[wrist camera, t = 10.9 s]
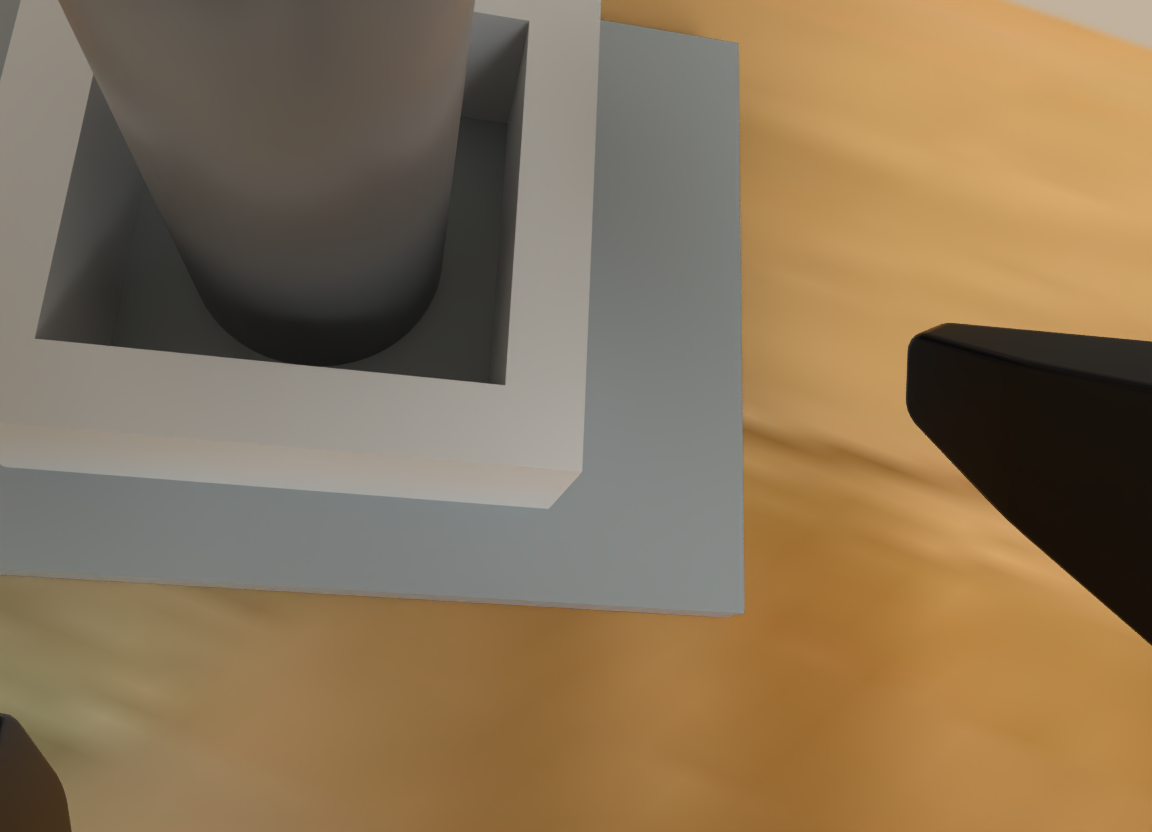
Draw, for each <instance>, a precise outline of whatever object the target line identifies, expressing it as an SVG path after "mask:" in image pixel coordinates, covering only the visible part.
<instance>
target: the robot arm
mask: <svg viewBox="0 0 1152 832" xmlns="http://www.w3.org/2000/svg"><path fill="white" fill-rule="evenodd" d="M906 405H907V409H908V412H909V414H910V416H911V418H912V420H913V421H914V423H915V424H916V425H917V426H918V427H919V428H920V429H921V430H922V431H923V433H924V434H925V435H926V436H927V437H928V438H929V439H930V440H931V441H932V442H933V443H934V444H935V445H936V446H937V447H938V448H939V449H940V450H941V451H942V453H943V454H944V455H945V456H946V457H947V458H948V459H949V460H950V461H951V462H952V463H953V464H954V465H955V466H956V467H957V468H958V469H959V470H960V472H961V473H962V474H963V475H964V476H965V477H966V478H967V479H968V480H969V481H970V482H971V483H972V484H973V485H974V486H975V487H976V488H977V489H978V491H979V492H980V493H981V494H982V495H983V496H984V497H985V498H986V499H987V500H988V501H989V502H990V503H991V504H992V505H993V506H994V507H995V508H996V509H997V510H998V511H999V512H1000V513H1001V514H1002V515H1003V516H1004V517H1005V518H1006V519H1007V520H1008V521H1009V522H1010V523H1011V524H1012V525H1013V526H1015V527H1016V528H1017V529H1018V530H1019V531H1020V532H1021V533H1022V534H1023V535H1025V536H1026V537H1027V538H1028V539H1029V540H1030V541H1031V542H1033V543H1034V544H1035V545H1036V546H1037V547H1038V548H1040V549H1041V550H1042V551H1043V552H1044V553H1045V554H1046V555H1048V556H1049V557H1050V558H1051V559H1052V560H1053V561H1055V562H1056V563H1057V564H1058V565H1059V566H1060V567H1061V568H1063V569H1064V570H1065V571H1066V572H1067V573H1068V574H1070V575H1071V576H1072V577H1073V578H1074V579H1075V580H1076V581H1078V582H1079V583H1080V584H1081V585H1082V586H1083V587H1085V588H1086V589H1087V590H1088V591H1089V592H1090V593H1091V594H1093V595H1094V596H1095V597H1096V598H1097V599H1098V600H1100V601H1101V602H1102V603H1103V604H1104V605H1105V606H1106V607H1108V608H1109V609H1110V610H1111V611H1112V612H1113V613H1115V614H1116V615H1117V616H1118V617H1119V618H1120V619H1121V620H1123V621H1124V622H1125V623H1126V624H1127V625H1128V626H1130V627H1131V628H1132V629H1133V630H1134V631H1135V632H1137V633H1138V634H1139V635H1140V636H1141V637H1142V638H1143V639H1145V640H1146V641H1147V642H1148V643H1149V644H1150V645H1152V342H1151V341H1140V340H1129V339H1119V338H1108V337H1097V336H1086V335H1076V334H1065V333H1054V332H1043V331H1032V330H1022V329H1011V328H1000V327H989V326H979V325H968V324H957V323H945V324H941V325H938V326H936V327H933V328H931V329H928V330H926V331H924V332H921V333H919V334H917V335H915V336H914V337H913V338H912V339H911V342H910V344H909V346H908V354H907V383H906ZM0 832H72V831H71V824H70V818H69V811H68V804H67V799H66V796H65V792H64V789H63V786H62V784H61V782H60V780H59V778H58V776H57V774H56V773H55V771H54V770H53V768H52V767H51V766H50V764H49V763H48V762H47V760H46V759H45V757H44V756H43V755H42V753H41V752H40V750H39V749H38V748H37V746H36V745H35V744H34V742H33V741H32V739H31V738H30V737H29V735H28V734H27V733H26V731H25V730H24V728H23V727H22V726H21V724H20V723H19V722H18V721H17V720H16V719H15V718H13V717H12V716H11V715H9V714H2V713H0Z"/></svg>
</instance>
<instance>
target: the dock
mask: <svg viewBox="0 0 1152 832" xmlns="http://www.w3.org/2000/svg"><path fill="white" fill-rule="evenodd" d="M600 15H601V0H475V5H474V13H473V21H472V29H471V37H470V45H469V53H468V61H467V69H466V77H465V85H464V93H463V101H462V109H461V117H460V125H459V133H458V141H457V149H456V157H455V165H454V173H453V180H452V188H451V196H450V204H449V212H448V220H447V228H446V236H445V244H444V252H443V260H442V268H441V274H440V279H439V283H438V286H437V289H436V292H435V295H434V297H433V299H432V301H431V303H430V305H429V307H428V309H427V310H426V312H425V313H424V315H423V316H422V318H421V319H420V321H419V322H418V323H417V324H416V325H415V326H414V327H413V328H412V329H411V330H410V331H409V332H408V333H407V334H406V335H405V336H403V337H402V338H401V339H400V340H399V341H397V342H396V343H394V344H393V345H391V346H390V347H388V348H386V349H385V350H383V351H381V352H379V353H377V354H375V355H372V356H370V357H368V358H365V359H362V360H359V361H355V362H352V363H347V364H341V365H335V366H321V367H318V366H306V365H296V364H290V363H285V362H281V361H278V360H275V359H271V358H269V357H266V356H264V355H262V354H259V353H257V352H255V351H253V350H251V349H250V348H248V347H246V346H245V345H243V344H241V343H240V342H238V341H237V340H236V339H235V338H233V337H232V336H231V335H230V334H228V333H227V332H226V331H225V330H224V329H223V328H222V327H221V326H220V325H219V324H218V323H217V322H216V321H215V319H214V318H213V317H212V315H211V314H210V312H209V311H208V310H207V308H206V307H205V305H204V303H203V301H202V299H201V297H200V295H199V293H198V291H197V289H196V287H195V285H194V283H193V281H192V279H191V277H190V275H189V272H188V270H187V268H186V266H185V264H184V262H183V260H182V258H181V256H180V254H179V252H178V250H177V247H176V245H175V243H174V241H173V239H172V237H171V235H170V233H169V231H168V229H167V227H166V224H165V222H164V220H163V218H162V216H161V214H160V212H159V210H158V208H157V206H156V204H155V201H154V199H153V197H152V195H151V193H150V191H149V189H148V187H147V185H146V183H145V181H144V179H143V176H142V174H141V172H140V170H139V168H138V166H137V164H136V162H135V160H134V158H133V156H132V153H131V151H130V149H129V147H128V145H127V143H126V141H125V139H124V137H123V135H122V133H121V131H120V128H119V126H118V124H117V122H116V120H115V118H114V116H113V114H112V112H111V110H110V108H109V105H108V103H107V101H106V99H105V97H104V95H103V93H102V91H101V89H100V87H99V85H98V82H97V80H96V78H95V76H94V74H93V72H92V70H91V68H90V66H89V64H88V62H87V60H86V57H85V55H84V53H83V51H82V49H81V47H80V45H79V43H78V41H77V39H76V37H75V34H74V32H73V30H72V28H71V26H70V24H69V22H68V20H67V18H66V16H65V14H64V12H63V9H62V7H61V5H60V3H59V1H58V0H0V575H15V576H32V577H49V578H65V579H82V580H99V581H116V582H133V583H150V584H167V585H184V586H201V587H218V588H235V589H252V590H269V591H286V592H303V593H320V594H337V595H354V596H370V597H387V598H404V599H421V600H438V601H455V602H472V603H489V604H506V605H523V606H540V607H557V608H574V609H591V610H608V611H625V612H642V613H658V614H675V615H692V616H709V617H730V616H735V615H739V614H744V523H743V429H742V335H741V241H740V147H739V53H738V43H736V42H730V41H724V40H718V39H712V38H706V37H700V36H694V35H688V34H682V33H677V32H671V31H665V30H659V29H653V28H647V27H641V26H635V25H629V24H623V23H618V22H612V21H606V20H600Z"/></svg>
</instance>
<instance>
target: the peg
mask: <svg viewBox="0 0 1152 832" xmlns="http://www.w3.org/2000/svg"><path fill="white" fill-rule="evenodd" d="M58 1H59V3H60V5H61V7H62V9H63V12H64V14H65V16H66V18H67V20H68V22H69V24H70V26H71V28H72V30H73V32H74V34H75V37H76V39H77V41H78V43H79V45H80V47H81V49H82V51H83V53H84V55H85V57H86V60H87V62H88V64H89V66H90V68H91V70H92V72H93V74H94V76H95V78H96V80H97V82H98V85H99V87H100V89H101V91H102V93H103V95H104V97H105V99H106V101H107V103H108V105H109V108H110V110H111V112H112V114H113V116H114V118H115V120H116V122H117V124H118V126H119V128H120V131H121V133H122V135H123V137H124V139H125V141H126V143H127V145H128V147H129V149H130V151H131V153H132V156H133V158H134V160H135V162H136V164H137V166H138V168H139V170H140V172H141V174H142V176H143V179H144V181H145V183H146V185H147V187H148V189H149V191H150V193H151V195H152V197H153V199H154V201H155V204H156V206H157V208H158V210H159V212H160V214H161V216H162V218H163V220H164V222H165V224H166V227H167V229H168V231H169V233H170V235H171V237H172V239H173V241H174V243H175V245H176V247H177V250H178V252H179V254H180V256H181V258H182V260H183V262H184V264H185V266H186V268H187V270H188V272H189V275H190V277H191V279H192V281H193V283H194V285H195V287H196V289H197V291H198V293H199V295H200V297H201V299H202V301H203V303H204V305H205V307H206V308H207V310H208V311H209V312H210V314H211V315H212V317H213V318H214V319H215V321H216V322H217V323H218V324H219V325H220V326H221V327H222V328H223V329H224V330H225V331H226V332H227V333H228V334H230V335H231V336H232V337H233V338H235V339H236V340H237V341H238V342H240V343H241V344H243V345H245V346H246V347H248V348H250V349H251V350H253V351H255V352H257V353H259V354H262V355H264V356H266V357H269V358H271V359H275V360H278V361H281V362H285V363H290V364H296V365H306V366H318V367H321V366H335V365H341V364H347V363H352V362H355V361H359V360H362V359H365V358H368V357H370V356H372V355H375V354H377V353H379V352H381V351H383V350H385V349H386V348H388V347H390V346H391V345H393V344H394V343H396V342H397V341H399V340H400V339H401V338H402V337H403V336H405V335H406V334H407V333H408V332H409V331H410V330H411V329H412V328H413V327H414V326H415V325H416V324H417V323H418V322H419V321H420V319H421V318H422V316H423V315H424V313H425V312H426V310H427V309H428V307H429V305H430V303H431V301H432V299H433V297H434V295H435V292H436V289H437V286H438V283H439V279H440V274H441V268H442V260H443V252H444V244H445V236H446V228H447V220H448V212H449V204H450V196H451V188H452V180H453V173H454V165H455V157H456V149H457V141H458V133H459V125H460V117H461V109H462V101H463V93H464V85H465V77H466V69H467V61H468V53H469V45H470V37H471V29H472V21H473V13H474V5H475V0H58Z"/></svg>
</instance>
